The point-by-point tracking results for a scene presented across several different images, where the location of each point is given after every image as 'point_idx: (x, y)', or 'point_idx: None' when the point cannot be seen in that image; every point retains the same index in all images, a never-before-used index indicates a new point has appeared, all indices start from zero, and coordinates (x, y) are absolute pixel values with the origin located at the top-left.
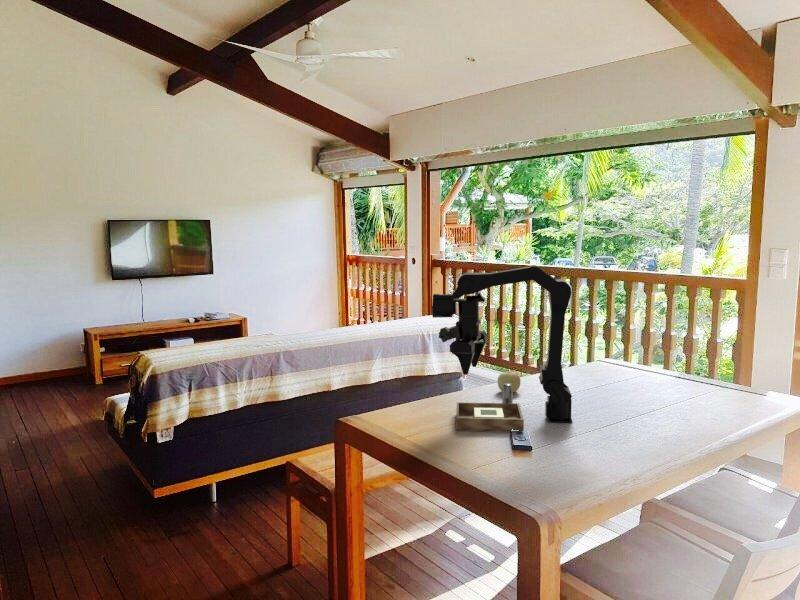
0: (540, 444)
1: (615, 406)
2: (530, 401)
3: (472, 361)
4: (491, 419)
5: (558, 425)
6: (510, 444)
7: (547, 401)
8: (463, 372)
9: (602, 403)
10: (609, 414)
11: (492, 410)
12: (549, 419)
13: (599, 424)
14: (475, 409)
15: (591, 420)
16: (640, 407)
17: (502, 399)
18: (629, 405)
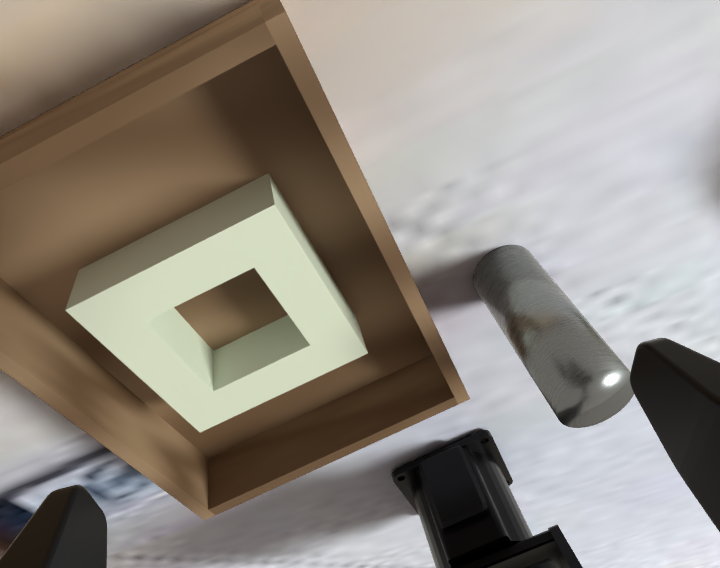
0: (111, 546)
1: (651, 517)
2: (688, 298)
3: (709, 415)
4: (79, 425)
5: (373, 498)
6: (2, 490)
7: (483, 514)
8: (29, 532)
9: (681, 486)
10: None
11: (298, 325)
12: (408, 472)
13: None
14: (236, 235)
15: None
16: (649, 552)
17: (523, 298)
18: (666, 532)
